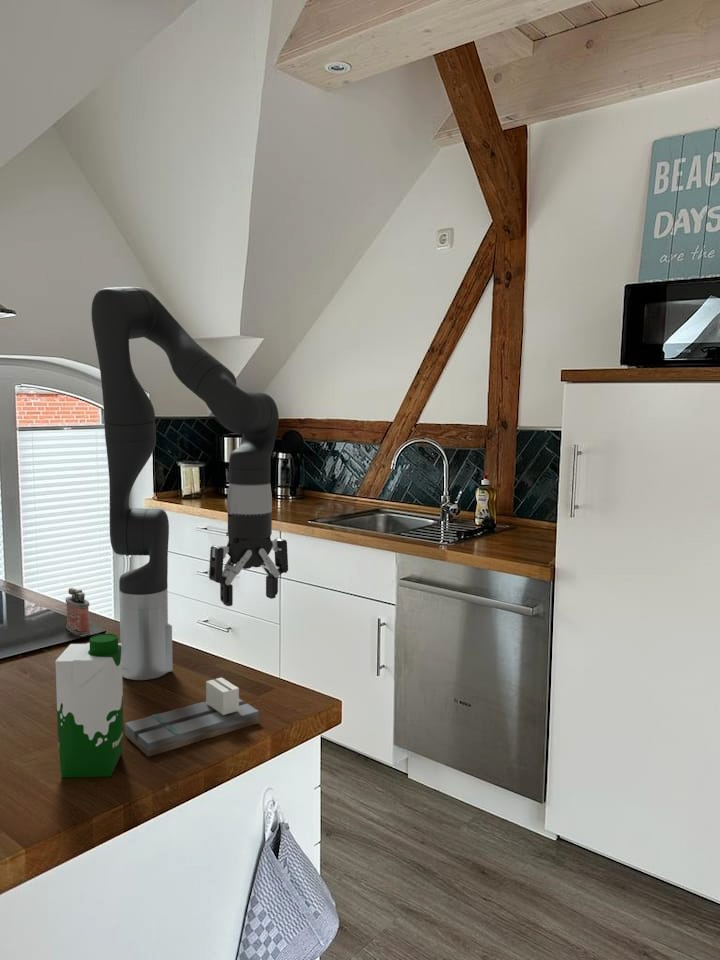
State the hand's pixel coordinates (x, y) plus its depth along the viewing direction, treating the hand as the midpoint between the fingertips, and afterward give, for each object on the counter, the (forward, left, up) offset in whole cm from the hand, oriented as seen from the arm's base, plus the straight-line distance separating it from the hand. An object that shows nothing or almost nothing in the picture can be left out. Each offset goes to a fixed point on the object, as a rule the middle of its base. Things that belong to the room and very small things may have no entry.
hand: (249, 601), depth 132 cm
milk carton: (+29, +2, -21) cm, 35 cm away
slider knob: (+5, 0, -19) cm, 20 cm away
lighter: (+9, -62, -21) cm, 66 cm away
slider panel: (+11, 0, -20) cm, 23 cm away
